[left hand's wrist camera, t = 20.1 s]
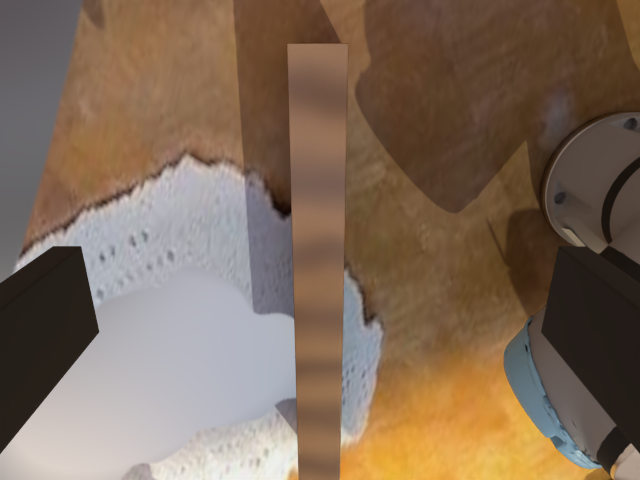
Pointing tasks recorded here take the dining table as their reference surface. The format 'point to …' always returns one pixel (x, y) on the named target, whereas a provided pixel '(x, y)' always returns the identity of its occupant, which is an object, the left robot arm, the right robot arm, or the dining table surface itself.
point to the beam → (318, 247)
